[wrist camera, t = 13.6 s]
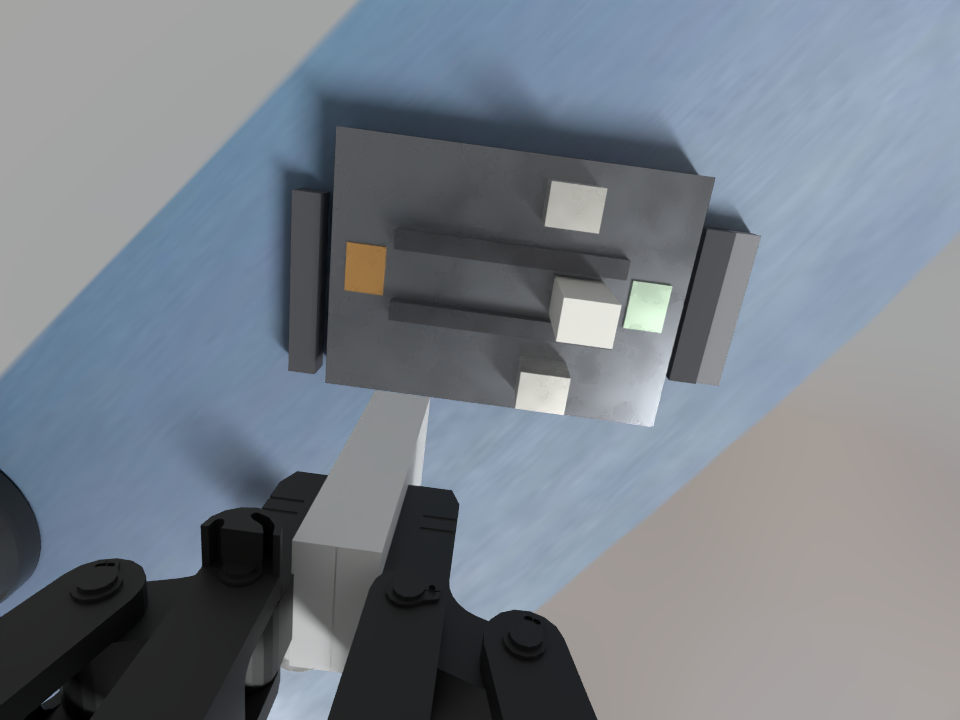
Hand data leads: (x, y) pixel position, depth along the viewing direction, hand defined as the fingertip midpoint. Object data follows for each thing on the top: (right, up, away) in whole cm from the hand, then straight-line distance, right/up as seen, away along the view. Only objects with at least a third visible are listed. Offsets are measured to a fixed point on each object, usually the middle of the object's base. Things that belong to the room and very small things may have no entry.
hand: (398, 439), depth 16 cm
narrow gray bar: (+16, +6, +23) cm, 29 cm away
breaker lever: (+8, +6, +20) cm, 23 cm away
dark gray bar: (-9, +8, +24) cm, 26 cm away
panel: (+4, +8, +23) cm, 25 cm away
